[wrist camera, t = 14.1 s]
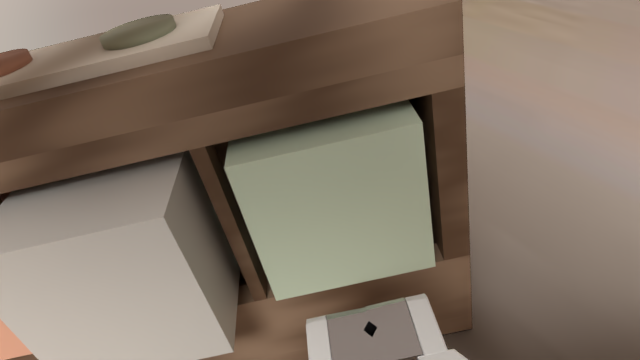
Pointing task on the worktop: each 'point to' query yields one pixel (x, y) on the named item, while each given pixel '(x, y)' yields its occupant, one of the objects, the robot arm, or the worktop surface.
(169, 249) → the key middle
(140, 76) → the keypad console
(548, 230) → the worktop surface
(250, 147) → the key right
